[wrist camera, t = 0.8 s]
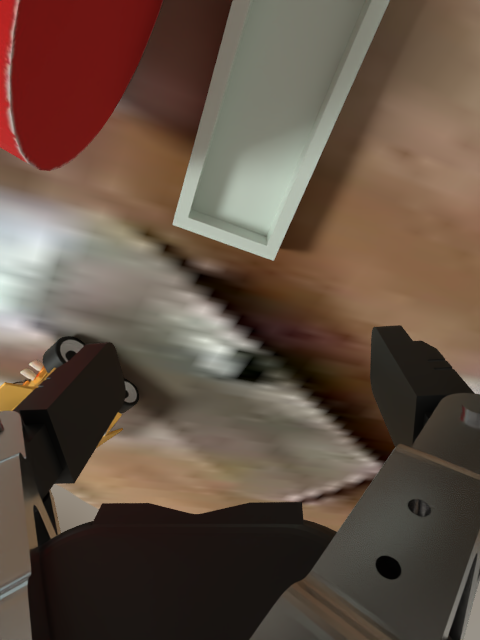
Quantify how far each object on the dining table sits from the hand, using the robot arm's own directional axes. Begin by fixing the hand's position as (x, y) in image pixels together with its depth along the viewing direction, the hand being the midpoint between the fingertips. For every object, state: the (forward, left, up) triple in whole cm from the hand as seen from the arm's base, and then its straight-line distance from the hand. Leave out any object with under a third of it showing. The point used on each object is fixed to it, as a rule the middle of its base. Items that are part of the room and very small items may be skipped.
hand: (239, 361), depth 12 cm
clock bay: (0, +6, -29) cm, 30 cm away
